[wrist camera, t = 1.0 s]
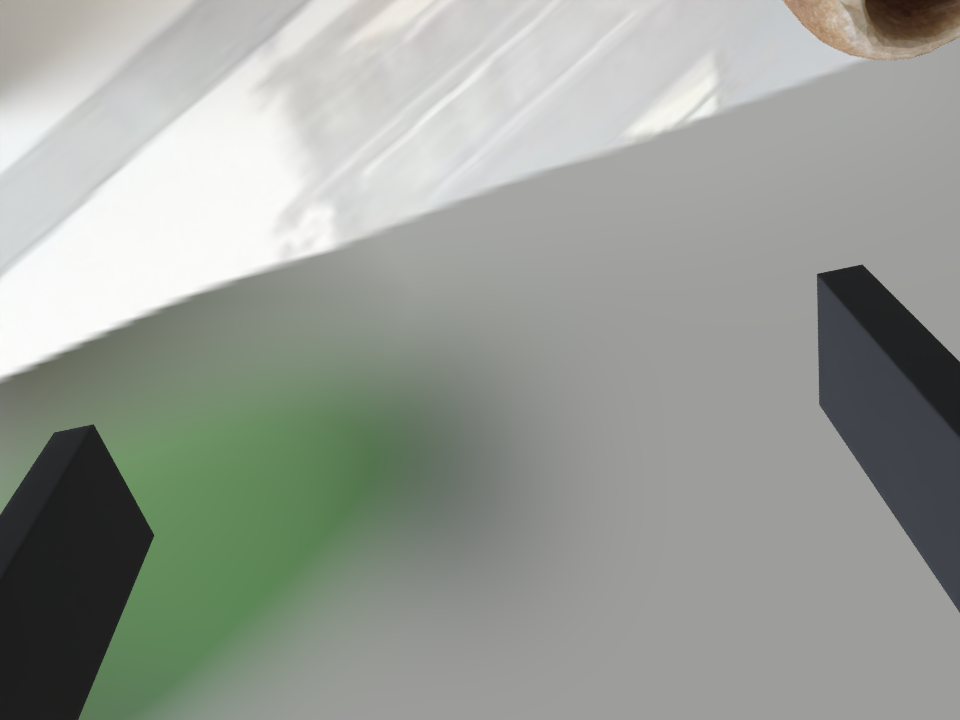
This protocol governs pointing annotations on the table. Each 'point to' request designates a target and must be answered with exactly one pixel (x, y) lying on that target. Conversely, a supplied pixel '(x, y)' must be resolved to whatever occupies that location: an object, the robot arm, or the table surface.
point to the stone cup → (880, 25)
